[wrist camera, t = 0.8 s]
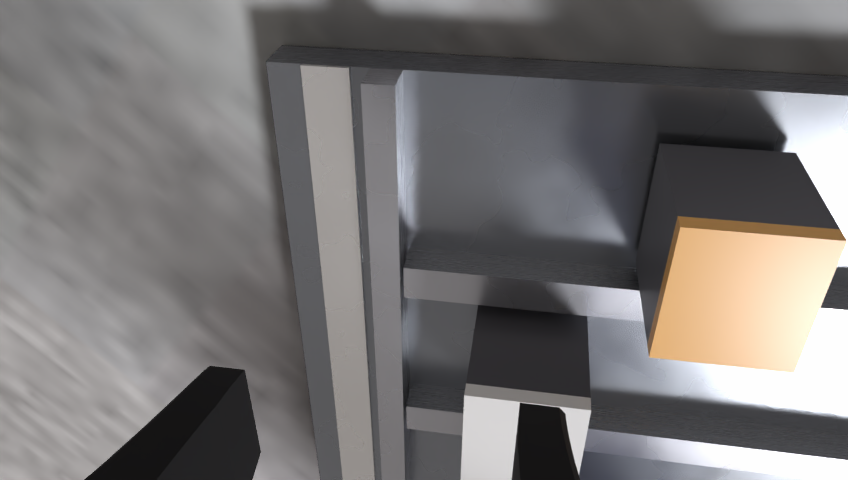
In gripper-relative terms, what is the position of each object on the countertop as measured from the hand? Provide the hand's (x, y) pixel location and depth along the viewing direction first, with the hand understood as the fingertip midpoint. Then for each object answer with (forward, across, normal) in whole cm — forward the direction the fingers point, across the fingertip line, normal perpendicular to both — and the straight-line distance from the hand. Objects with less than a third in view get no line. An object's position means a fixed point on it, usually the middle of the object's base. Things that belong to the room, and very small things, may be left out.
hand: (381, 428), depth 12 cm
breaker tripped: (+8, -7, 0) cm, 10 cm away
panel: (+9, -6, +5) cm, 12 cm away
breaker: (+8, -2, +5) cm, 10 cm away
